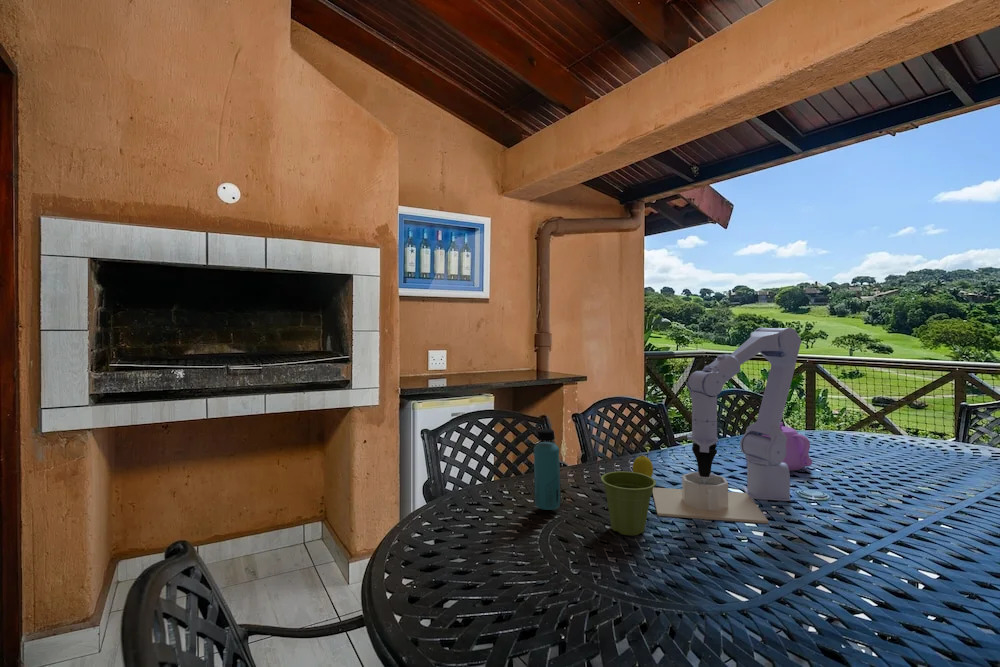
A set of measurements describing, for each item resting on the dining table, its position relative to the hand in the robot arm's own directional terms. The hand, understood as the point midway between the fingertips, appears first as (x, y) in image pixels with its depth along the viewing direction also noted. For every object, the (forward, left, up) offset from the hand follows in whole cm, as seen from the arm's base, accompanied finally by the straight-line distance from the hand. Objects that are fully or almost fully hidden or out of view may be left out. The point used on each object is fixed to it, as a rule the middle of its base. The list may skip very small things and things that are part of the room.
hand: (704, 473), depth 122 cm
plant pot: (+19, +18, -8) cm, 27 cm away
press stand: (0, 0, -8) cm, 8 cm away
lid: (0, 0, -4) cm, 4 cm away
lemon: (+14, -14, -8) cm, 21 cm away
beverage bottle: (+38, +11, -8) cm, 40 cm away
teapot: (-26, -37, -8) cm, 46 cm away
